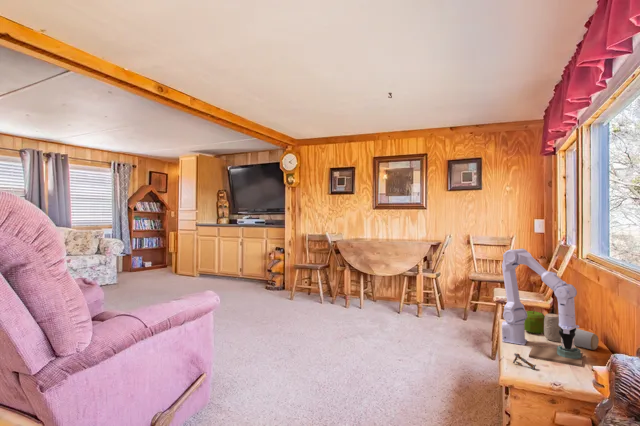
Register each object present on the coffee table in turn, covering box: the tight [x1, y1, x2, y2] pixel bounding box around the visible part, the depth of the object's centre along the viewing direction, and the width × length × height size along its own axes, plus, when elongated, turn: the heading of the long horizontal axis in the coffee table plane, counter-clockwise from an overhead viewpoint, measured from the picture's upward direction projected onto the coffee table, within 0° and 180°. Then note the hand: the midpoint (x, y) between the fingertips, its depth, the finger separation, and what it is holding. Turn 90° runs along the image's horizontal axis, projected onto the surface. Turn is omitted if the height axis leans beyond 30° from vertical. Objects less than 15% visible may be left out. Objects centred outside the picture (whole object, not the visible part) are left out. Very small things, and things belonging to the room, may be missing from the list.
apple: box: [524, 310, 545, 335], centre depth 182 cm, size 11×11×11 cm
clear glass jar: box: [560, 337, 575, 352], centre depth 149 cm, size 4×4×7 cm
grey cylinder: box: [574, 328, 599, 351], centre depth 160 cm, size 11×8×8 cm
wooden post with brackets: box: [512, 352, 537, 370], centre depth 142 cm, size 2×8×4 cm, turn 41°
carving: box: [543, 313, 562, 343], centre depth 170 cm, size 6×8×12 cm
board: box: [528, 345, 584, 367], centre depth 150 cm, size 18×14×4 cm
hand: (568, 346), depth 149 cm, fingers open, 5 cm apart
